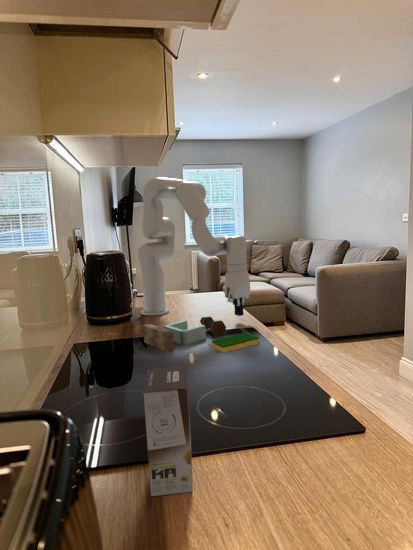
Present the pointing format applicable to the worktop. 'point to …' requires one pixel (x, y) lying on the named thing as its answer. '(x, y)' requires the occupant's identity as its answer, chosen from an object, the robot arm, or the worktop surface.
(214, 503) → the worktop surface
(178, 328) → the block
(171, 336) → the wooden plank
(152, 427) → the coffee box
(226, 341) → the dish sponge
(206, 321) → the bolt
